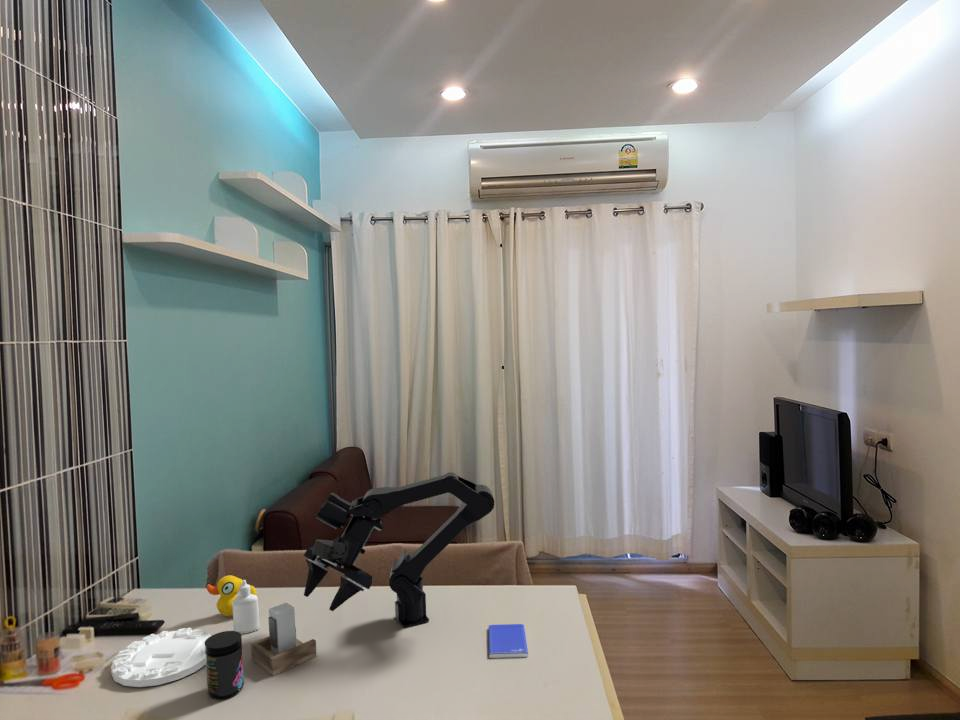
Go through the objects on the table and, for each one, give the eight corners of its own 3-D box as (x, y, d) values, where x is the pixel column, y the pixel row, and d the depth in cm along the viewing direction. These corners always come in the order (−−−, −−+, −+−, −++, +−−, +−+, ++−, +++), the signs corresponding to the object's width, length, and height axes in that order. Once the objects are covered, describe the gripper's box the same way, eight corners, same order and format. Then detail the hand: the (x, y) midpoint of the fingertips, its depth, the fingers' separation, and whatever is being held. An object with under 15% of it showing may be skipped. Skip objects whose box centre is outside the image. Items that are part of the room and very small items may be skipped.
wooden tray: (294, 641, 141) (293, 626, 141) (316, 656, 134) (315, 640, 134) (251, 659, 134) (250, 643, 134) (273, 676, 127) (272, 659, 127)
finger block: (288, 647, 137) (286, 602, 136) (296, 652, 134) (294, 607, 134) (269, 655, 134) (267, 609, 133) (277, 661, 131) (275, 614, 131)
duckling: (208, 625, 150) (206, 584, 150) (208, 615, 155) (206, 576, 155) (258, 614, 155) (256, 575, 154) (256, 605, 160) (254, 567, 159)
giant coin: (162, 699, 122) (161, 684, 121) (89, 680, 128) (88, 667, 128) (235, 647, 140) (234, 634, 140) (168, 633, 147) (167, 621, 147)
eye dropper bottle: (252, 635, 144) (249, 585, 144) (230, 634, 145) (227, 583, 145) (262, 626, 149) (260, 577, 148) (241, 625, 150) (238, 576, 149)
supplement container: (231, 702, 119) (228, 649, 118) (199, 699, 120) (196, 647, 119) (251, 682, 125) (248, 631, 125) (220, 679, 127) (217, 629, 126)
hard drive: (528, 652, 132) (523, 623, 144) (489, 653, 132) (488, 624, 144) (528, 659, 132) (524, 630, 144) (489, 660, 132) (488, 631, 144)
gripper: (307, 514, 147) (269, 577, 140) (360, 536, 135) (321, 606, 129) (336, 533, 154) (301, 593, 148) (388, 555, 143) (353, 622, 136)
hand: (317, 603), depth 140 cm, fingers open, 9 cm apart
